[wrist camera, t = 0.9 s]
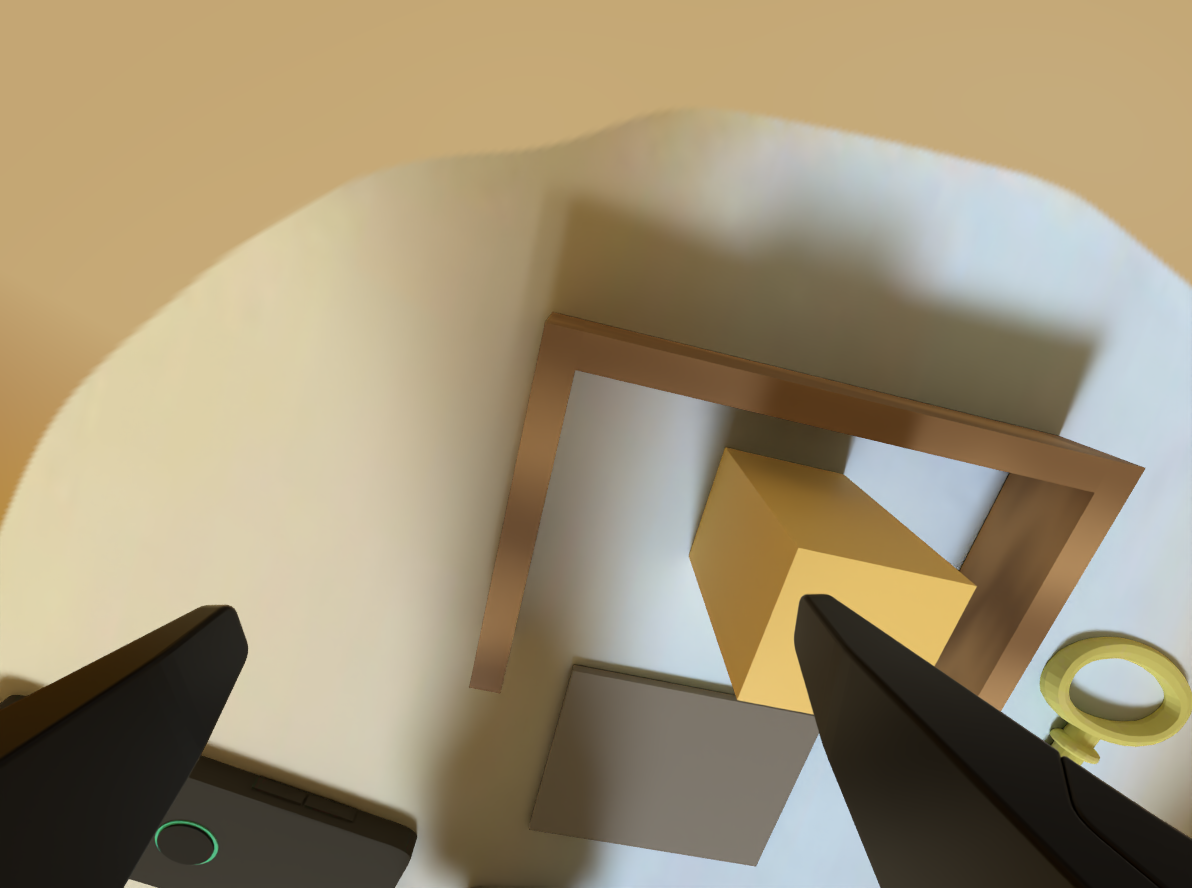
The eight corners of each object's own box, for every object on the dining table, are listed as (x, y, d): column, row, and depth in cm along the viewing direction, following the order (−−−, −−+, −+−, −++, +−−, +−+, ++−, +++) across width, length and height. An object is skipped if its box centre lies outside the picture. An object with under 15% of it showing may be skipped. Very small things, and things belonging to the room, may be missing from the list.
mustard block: (799, 579, 24) (900, 731, 16) (688, 555, 23) (737, 700, 16) (843, 474, 22) (976, 586, 14) (725, 447, 22) (798, 547, 14)
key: (962, 822, 29) (991, 864, 27) (1051, 624, 25) (1092, 656, 23) (1091, 831, 29) (1129, 873, 27) (1197, 638, 25) (1250, 670, 23)
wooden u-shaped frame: (913, 711, 26) (961, 777, 22) (485, 628, 24) (469, 687, 21) (1059, 436, 22) (1145, 468, 18) (552, 312, 20) (545, 322, 16)
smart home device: (-20, 709, 24) (414, 854, 27) (19, 680, 25) (424, 820, 28) (-45, 832, 26) (357, 953, 29) (-8, 798, 28) (369, 916, 31)
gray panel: (753, 858, 29) (755, 866, 28) (530, 821, 28) (529, 829, 27) (822, 711, 26) (825, 718, 25) (573, 664, 25) (573, 670, 24)
